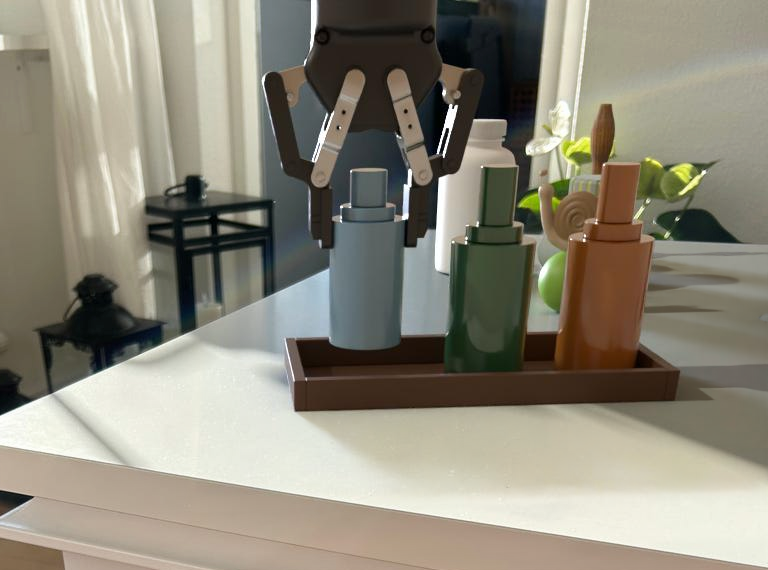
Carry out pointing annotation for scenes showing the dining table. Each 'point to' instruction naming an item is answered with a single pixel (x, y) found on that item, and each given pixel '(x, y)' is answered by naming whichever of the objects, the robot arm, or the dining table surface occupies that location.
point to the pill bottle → (467, 185)
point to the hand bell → (602, 137)
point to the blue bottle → (366, 267)
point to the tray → (459, 377)
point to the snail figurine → (560, 235)
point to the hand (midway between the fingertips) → (367, 245)
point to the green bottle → (490, 282)
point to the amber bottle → (605, 280)
